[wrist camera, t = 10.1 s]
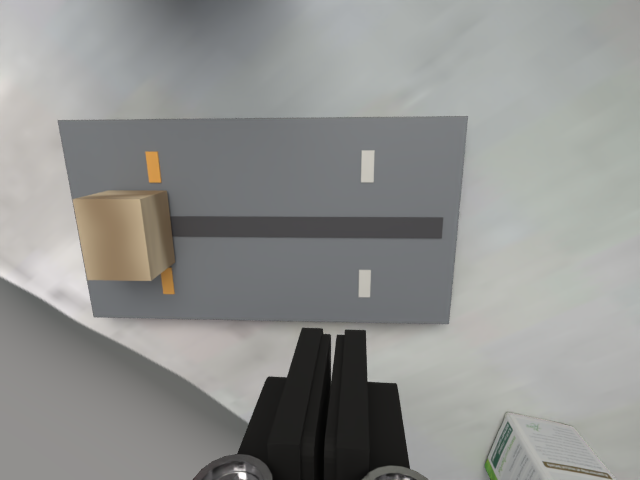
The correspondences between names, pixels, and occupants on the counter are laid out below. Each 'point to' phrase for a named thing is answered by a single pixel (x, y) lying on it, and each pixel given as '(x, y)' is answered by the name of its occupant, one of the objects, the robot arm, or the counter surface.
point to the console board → (285, 214)
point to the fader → (125, 234)
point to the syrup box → (542, 452)
